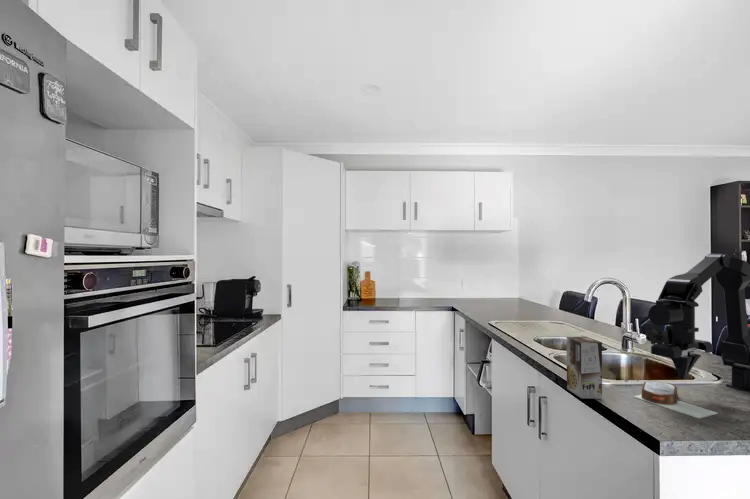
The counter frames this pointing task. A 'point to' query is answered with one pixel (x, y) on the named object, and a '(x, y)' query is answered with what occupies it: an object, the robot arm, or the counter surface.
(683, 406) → the mat
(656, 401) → the tin
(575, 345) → the coffee box
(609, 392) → the counter surface
